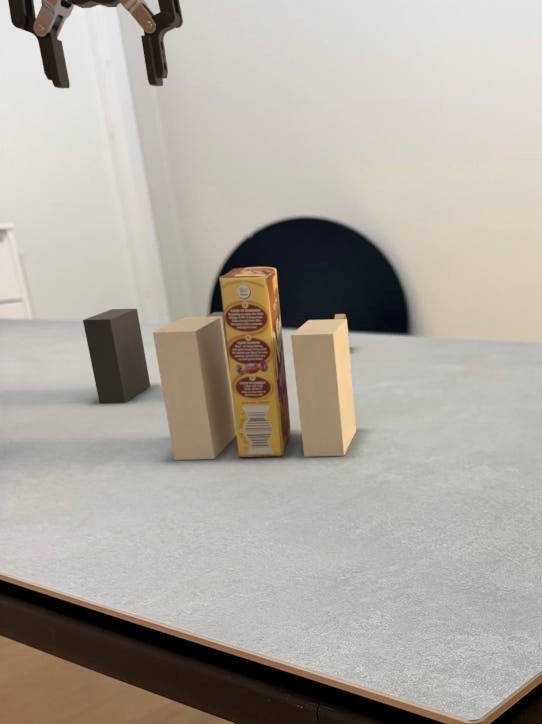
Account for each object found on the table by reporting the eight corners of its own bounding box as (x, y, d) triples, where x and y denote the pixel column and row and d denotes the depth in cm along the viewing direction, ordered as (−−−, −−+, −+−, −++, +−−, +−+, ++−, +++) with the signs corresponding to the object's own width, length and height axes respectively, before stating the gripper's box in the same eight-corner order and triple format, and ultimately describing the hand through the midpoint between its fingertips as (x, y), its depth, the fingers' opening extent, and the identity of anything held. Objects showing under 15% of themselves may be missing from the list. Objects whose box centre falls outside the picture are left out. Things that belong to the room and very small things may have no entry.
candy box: (287, 456, 85) (266, 274, 78) (238, 459, 85) (213, 276, 78) (295, 432, 93) (276, 265, 86) (250, 434, 92) (228, 266, 86)
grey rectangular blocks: (99, 403, 107) (82, 319, 103) (126, 386, 116) (111, 309, 112) (231, 399, 107) (219, 316, 103) (249, 383, 115) (238, 305, 111)
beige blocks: (174, 460, 85) (152, 332, 80) (201, 435, 93) (183, 317, 88) (344, 456, 85) (332, 327, 80) (356, 431, 93) (346, 313, 88)
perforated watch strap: (331, 353, 133) (328, 316, 131) (336, 348, 138) (333, 311, 135) (350, 353, 133) (347, 316, 131) (355, 347, 137) (352, 311, 135)
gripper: (-38, -152, 75) (12, 85, 82) (141, -158, 75) (176, 81, 82) (5, -125, 82) (48, 92, 89) (170, -130, 82) (199, 87, 89)
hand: (109, 86), depth 85 cm, fingers open, 8 cm apart
